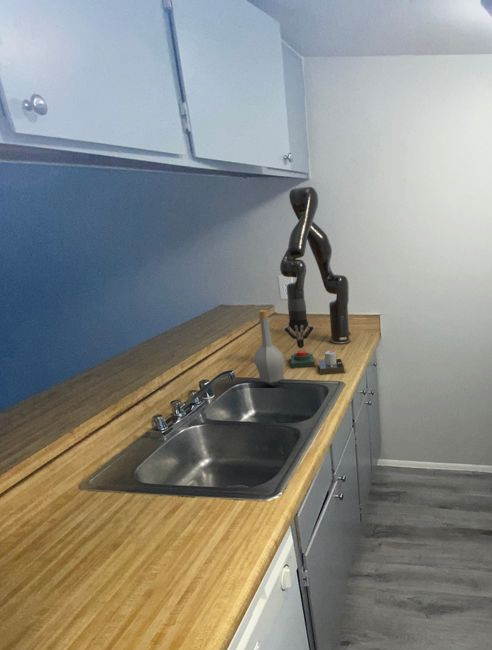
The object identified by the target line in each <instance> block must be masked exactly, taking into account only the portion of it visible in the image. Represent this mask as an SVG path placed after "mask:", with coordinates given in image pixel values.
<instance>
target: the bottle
mask: <svg viewBox="0 0 492 650" xmlns="http://www.w3.org/2000/svg"><path fill="white" fill-rule="evenodd" d="M258 313H259V316H258V318H259V323H260V329H261V330H260V331H261V341H262V342H261V343H262V344H261V345H260V346H259V348H258V349H257V350H256V351H255V353H254V361H253V362H254V364H255V367H256V369H257V371H258V376H259V380H260V381H262V382H263V383H264V384H267V385H268V386H271V387H274V386H277V385H279V384H280V383H281V382H282V381H283V380H284V379H285V374H284V369H285V364H286V361H285V357H284V354H283V352H282V351H281V350H279V349H278V348H277V347H276V346H275V345H274V344H273V340H272V337H271V336H272V335H271V329H270V320H269V319H270V316H268V310H267V309H259V310H258Z"/></svg>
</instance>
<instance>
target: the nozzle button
mask: <svg viewBox="0 0 492 650" xmlns="http://www.w3.org/2000/svg"><path fill="white" fill-rule="evenodd" d="M296 353H297V356H306V353H307V351H306V350H303V349H302V350H297V351H296Z"/></svg>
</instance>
